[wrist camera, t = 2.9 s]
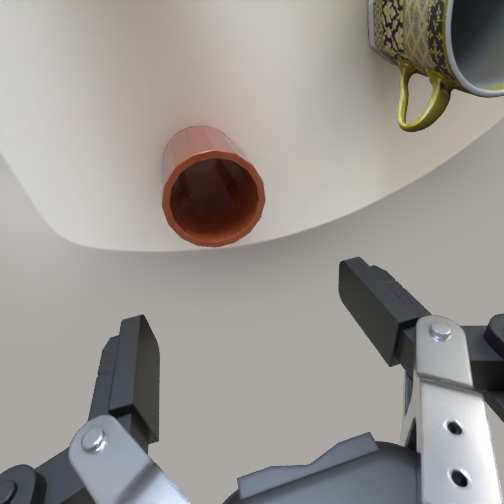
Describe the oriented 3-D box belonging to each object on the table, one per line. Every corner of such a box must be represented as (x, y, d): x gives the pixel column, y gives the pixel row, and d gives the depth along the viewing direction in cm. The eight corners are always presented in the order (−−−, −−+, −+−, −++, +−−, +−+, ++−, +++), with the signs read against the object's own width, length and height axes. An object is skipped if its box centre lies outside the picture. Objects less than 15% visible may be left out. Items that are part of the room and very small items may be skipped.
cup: (175, 209, 27) (179, 257, 21) (151, 134, 23) (147, 164, 17) (244, 192, 28) (270, 233, 21) (231, 118, 24) (257, 140, 18)
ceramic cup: (406, -126, 19) (587, -260, 11) (487, -20, 24) (659, -61, 15) (300, 83, 24) (371, 96, 16) (383, 138, 28) (472, 170, 20)
